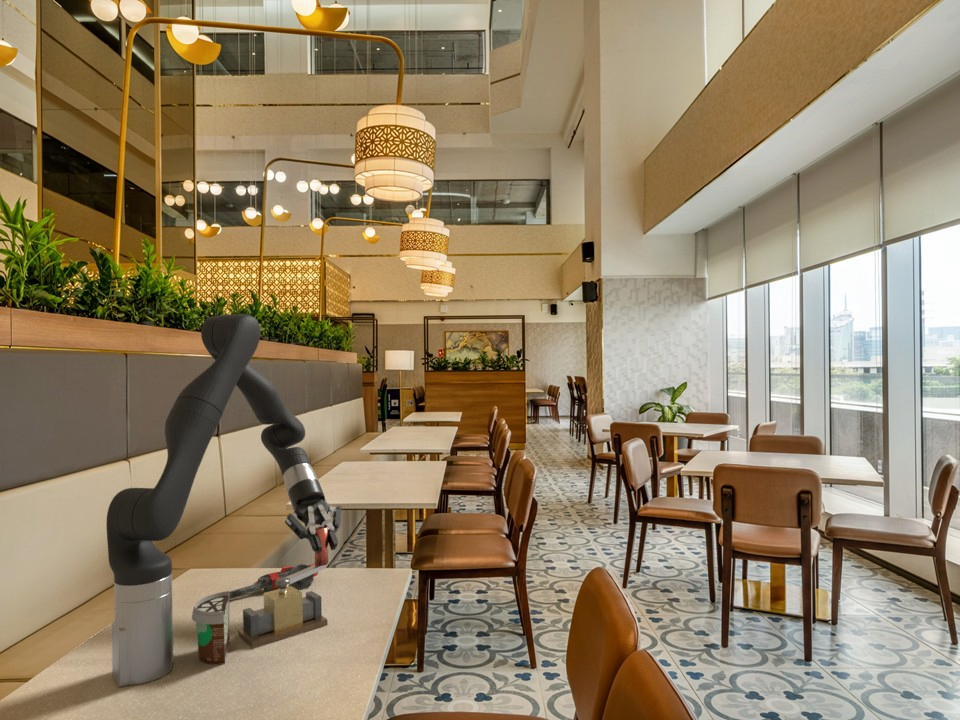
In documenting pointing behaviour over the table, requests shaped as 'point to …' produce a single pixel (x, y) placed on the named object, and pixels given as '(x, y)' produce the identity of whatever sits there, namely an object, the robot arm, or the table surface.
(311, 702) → the table surface
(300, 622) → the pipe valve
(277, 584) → the lever
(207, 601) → the food container
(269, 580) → the valve
